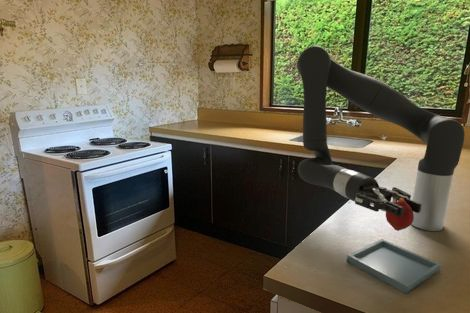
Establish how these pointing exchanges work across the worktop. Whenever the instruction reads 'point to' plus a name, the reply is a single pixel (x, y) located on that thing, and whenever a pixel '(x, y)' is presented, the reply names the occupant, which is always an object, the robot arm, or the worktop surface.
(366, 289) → the worktop surface
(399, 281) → the dish
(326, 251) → the worktop surface
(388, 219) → the onion
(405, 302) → the worktop surface
